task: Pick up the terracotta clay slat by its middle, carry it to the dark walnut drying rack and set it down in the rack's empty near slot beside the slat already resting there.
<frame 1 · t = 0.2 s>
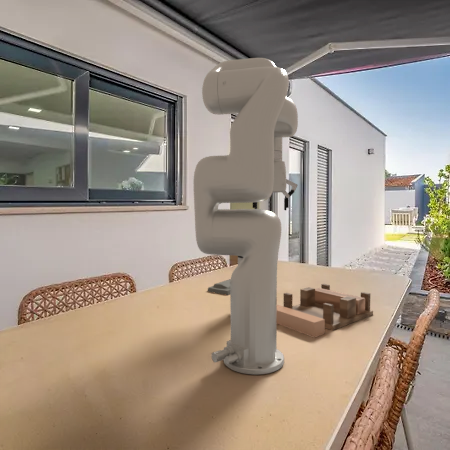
hand: (270, 210, 113), 31 cm above the table, tool pointing down, fingers open, 9 cm apart
rack: (326, 313, 102), on the table
slat: (294, 327, 92), on the table
soap mold: (232, 289, 135), on the table
travel mug: (248, 311, 106), on the table
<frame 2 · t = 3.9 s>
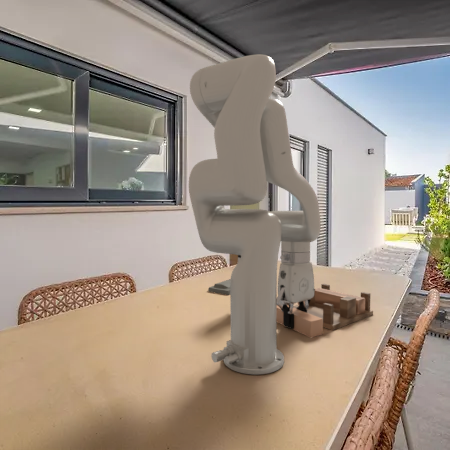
hand: (295, 324, 92), 0 cm above the table, tool pointing down, fingers closed on slat, 4 cm apart
slat: (295, 326, 92), on the table, touching gripper
everything else where it was.
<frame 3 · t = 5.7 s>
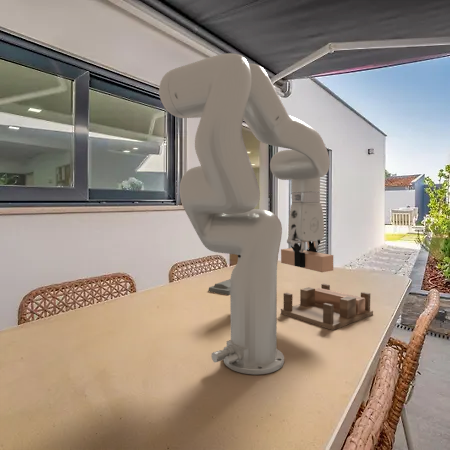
hand: (305, 264, 95), 16 cm above the table, tool pointing down, fingers closed on slat, 4 cm apart
slat: (305, 266, 95), point 16 cm above the table, touching gripper
everything else where it was.
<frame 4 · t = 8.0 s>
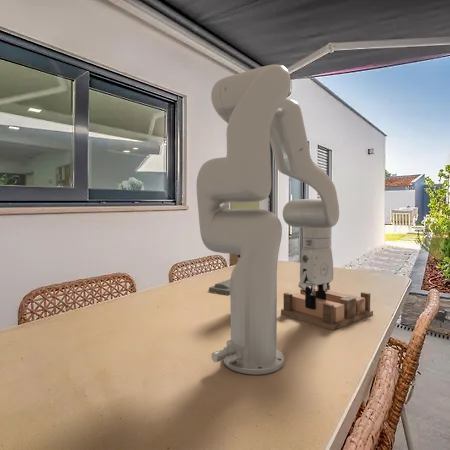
hand: (315, 306, 99), 3 cm above the table, tool pointing down, fingers closed on slat, 4 cm apart
slat: (315, 313, 99), point 1 cm above the table, touching gripper, rack
everything else where it was.
when the fingers open (3 cm above the table, at t = 8.2 s): slat stays where it is, resting on rack.
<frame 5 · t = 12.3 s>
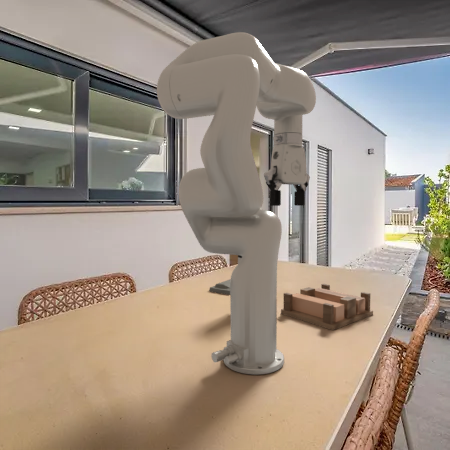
hand: (287, 205, 94), 32 cm above the table, tool pointing down, fingers open, 9 cm apart
slat: (315, 313, 99), point 1 cm above the table, touching rack
everything else where it was.
at the end: slat 0.1 cm from the target spot on the rack, point 1.2 cm above the rack's base; slat tilted 0°; the gripper is holding nothing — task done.
